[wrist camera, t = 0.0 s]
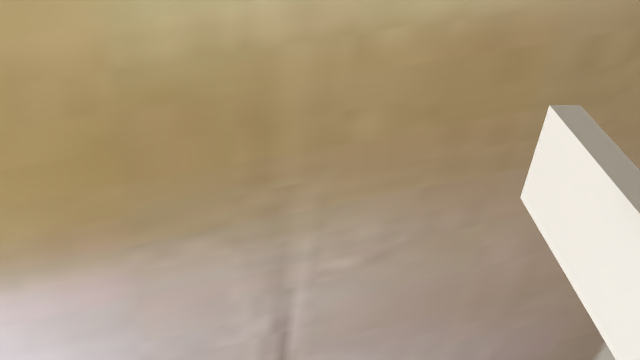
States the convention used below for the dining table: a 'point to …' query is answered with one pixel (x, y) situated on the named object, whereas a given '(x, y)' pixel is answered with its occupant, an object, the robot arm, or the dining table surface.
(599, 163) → the robot arm
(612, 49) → the dining table surface
